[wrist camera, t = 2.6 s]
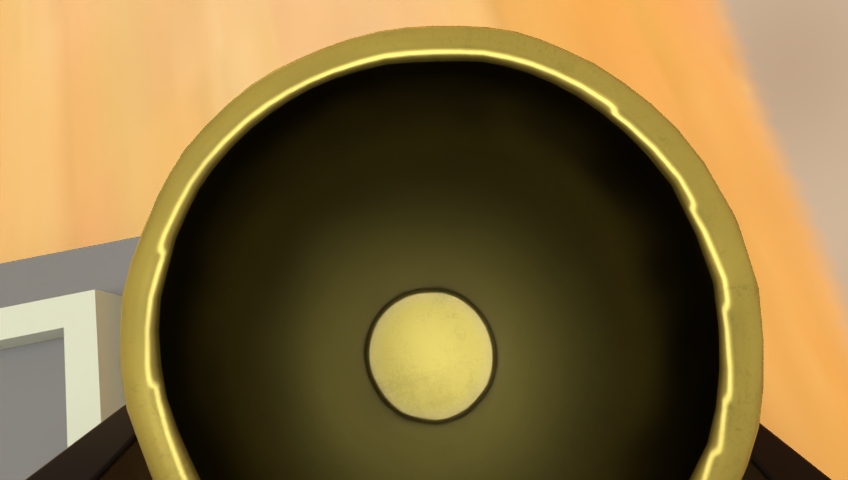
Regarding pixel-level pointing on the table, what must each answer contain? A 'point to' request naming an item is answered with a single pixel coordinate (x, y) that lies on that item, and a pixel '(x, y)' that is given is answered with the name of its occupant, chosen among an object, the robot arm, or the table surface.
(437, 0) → the table surface
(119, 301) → the vase holder
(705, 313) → the vase
